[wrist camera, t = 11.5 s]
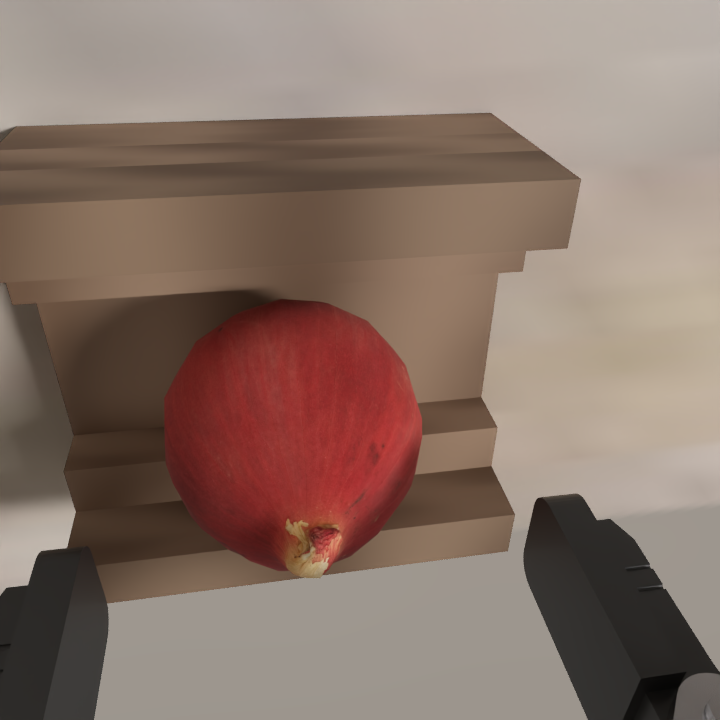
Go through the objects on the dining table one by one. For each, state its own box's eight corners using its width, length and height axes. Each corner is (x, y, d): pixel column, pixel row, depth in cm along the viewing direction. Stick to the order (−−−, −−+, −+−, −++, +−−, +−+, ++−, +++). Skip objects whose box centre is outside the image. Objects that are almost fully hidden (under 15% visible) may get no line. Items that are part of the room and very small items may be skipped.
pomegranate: (403, 393, 20) (492, 623, 14) (220, 450, 20) (220, 708, 14) (356, 217, 17) (444, 410, 10) (136, 284, 17) (83, 521, 10)
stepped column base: (104, 467, 22) (74, 607, 18) (16, 126, 16) (-64, 208, 12) (453, 431, 24) (507, 551, 20) (490, 112, 18) (581, 179, 14)
